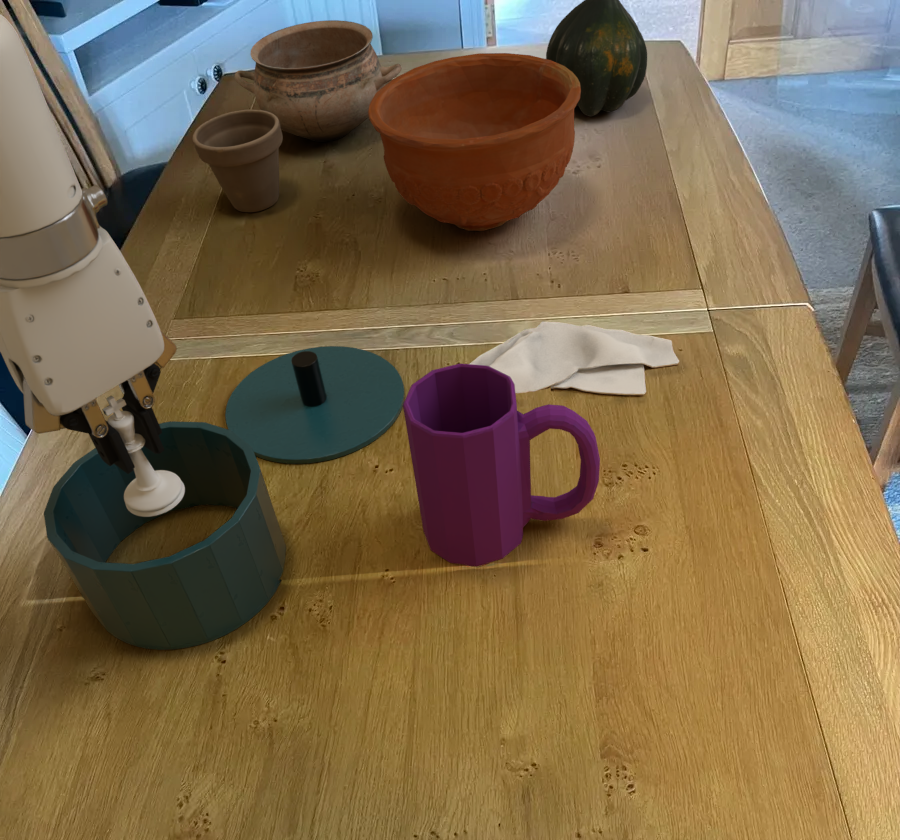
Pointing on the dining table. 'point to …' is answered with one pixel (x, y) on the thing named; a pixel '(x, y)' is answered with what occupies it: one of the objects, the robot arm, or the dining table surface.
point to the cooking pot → (317, 77)
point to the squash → (600, 53)
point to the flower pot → (243, 156)
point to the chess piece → (143, 469)
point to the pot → (185, 573)
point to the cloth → (579, 358)
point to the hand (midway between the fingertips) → (135, 454)
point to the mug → (485, 462)
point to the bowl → (477, 135)
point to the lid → (315, 404)
